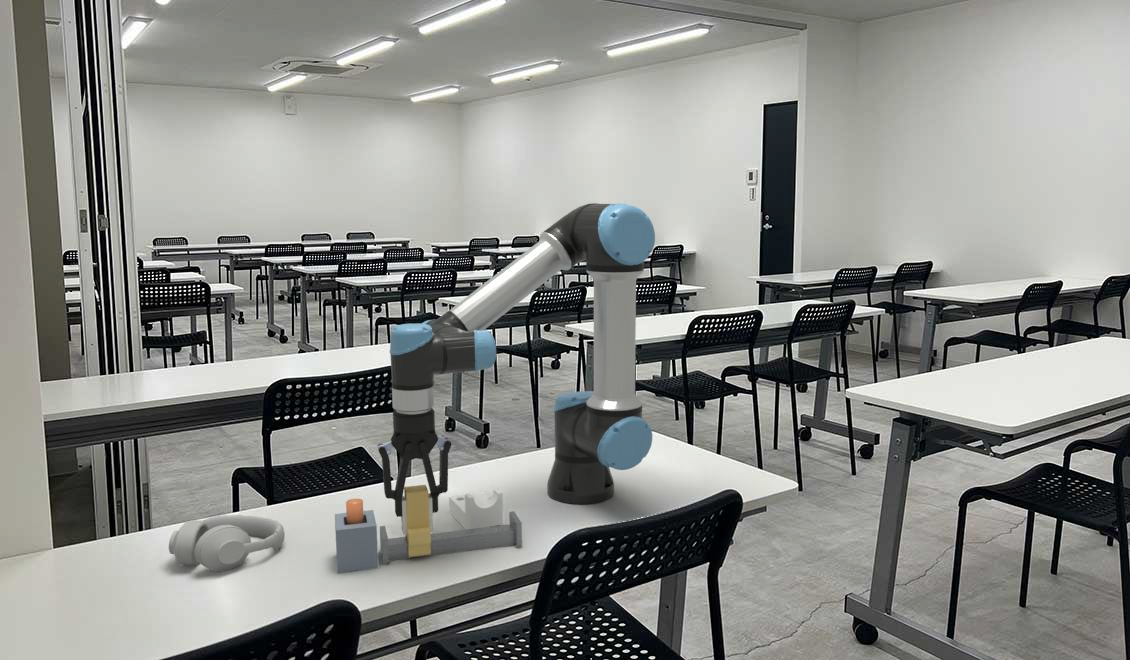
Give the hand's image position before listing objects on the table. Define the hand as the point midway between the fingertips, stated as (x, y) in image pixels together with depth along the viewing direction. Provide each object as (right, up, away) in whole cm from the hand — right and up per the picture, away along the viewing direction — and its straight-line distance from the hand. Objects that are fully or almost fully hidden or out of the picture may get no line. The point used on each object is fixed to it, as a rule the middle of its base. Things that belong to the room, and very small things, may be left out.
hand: (417, 530), depth 156 cm
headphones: (-36, -5, +1) cm, 36 cm away
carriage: (0, -5, +1) cm, 5 cm away
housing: (-11, -5, -2) cm, 12 cm away
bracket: (+9, -2, +18) cm, 20 cm away
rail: (+6, -4, +3) cm, 8 cm away
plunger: (-11, +1, -4) cm, 11 cm away
